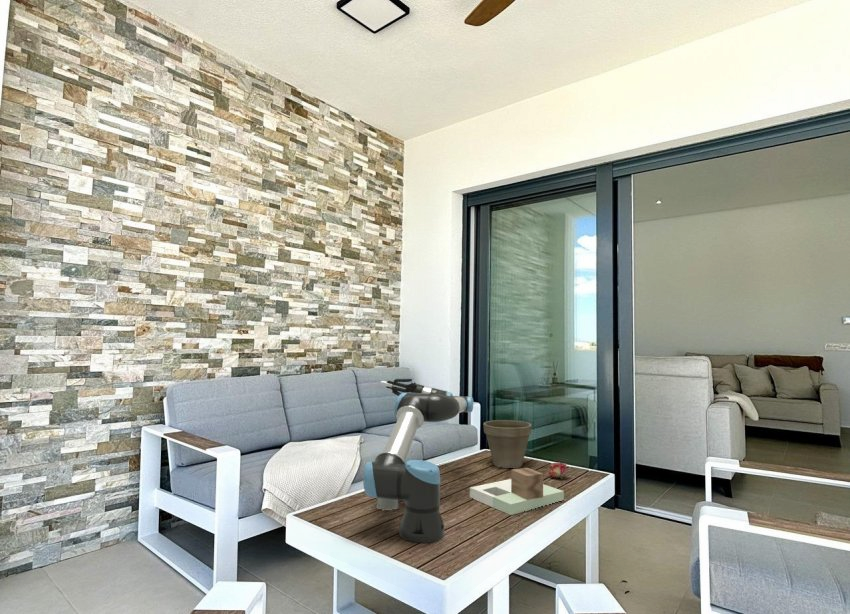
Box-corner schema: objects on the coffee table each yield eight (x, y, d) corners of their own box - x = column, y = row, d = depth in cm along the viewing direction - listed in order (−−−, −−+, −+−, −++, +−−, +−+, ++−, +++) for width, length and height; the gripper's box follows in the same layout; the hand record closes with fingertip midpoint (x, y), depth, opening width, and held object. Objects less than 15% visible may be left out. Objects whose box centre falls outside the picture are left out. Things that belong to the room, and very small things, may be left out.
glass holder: (374, 503, 192) (375, 465, 193) (409, 501, 195) (410, 463, 196) (378, 511, 183) (379, 471, 184) (414, 508, 187) (415, 469, 188)
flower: (574, 476, 228) (568, 460, 233) (562, 475, 223) (556, 458, 228) (559, 484, 234) (554, 468, 239) (547, 483, 229) (541, 467, 234)
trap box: (510, 515, 181) (510, 504, 182) (469, 497, 201) (469, 487, 201) (563, 501, 198) (563, 491, 199) (521, 485, 218) (521, 476, 218)
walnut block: (526, 499, 187) (526, 476, 188) (511, 492, 196) (511, 469, 197) (543, 497, 191) (543, 473, 191) (527, 489, 199) (527, 467, 200)
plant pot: (473, 464, 255) (473, 422, 256) (502, 457, 271) (502, 417, 273) (512, 474, 236) (512, 429, 238) (540, 466, 253) (540, 424, 254)
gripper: (422, 402, 259) (381, 392, 264) (426, 379, 257) (385, 369, 262) (419, 406, 251) (376, 395, 257) (423, 382, 250) (380, 372, 255)
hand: (381, 382), depth 259 cm, fingers closed
